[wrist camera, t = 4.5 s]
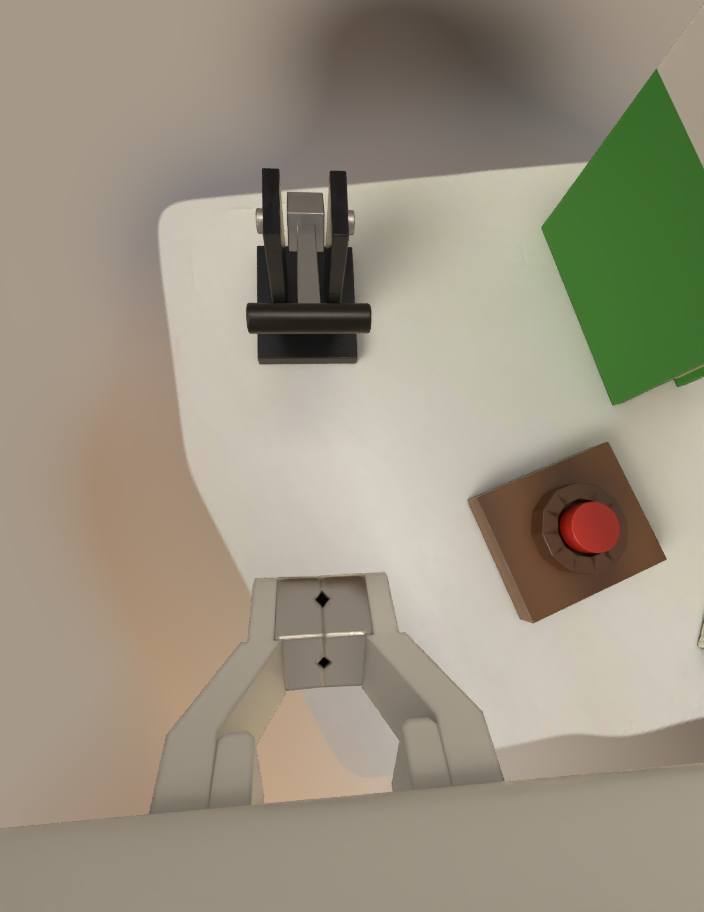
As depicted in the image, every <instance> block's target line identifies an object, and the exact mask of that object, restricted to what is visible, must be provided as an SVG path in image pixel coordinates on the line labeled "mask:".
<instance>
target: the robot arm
mask: <svg viewBox="0 0 704 912" xmlns="http://www.w3.org/2000/svg"><path fill="white" fill-rule="evenodd" d="M361 685H362V688H363V689H364V691H365V692H366V694H367V695H368V697H369V698H370V699H371V701H372V702H373V704H374V705H375V707H376V708H377V709H378V711H379V712H380V714H381V715H382V717H383V718H384V719H385V721H386V722H387V724H388V725H389V727H390V728H391V729H392V731H393V732H394V734H395V735H396V737H397V738H398V739H399V741H400V742H399V747H398V752H397V758H396V763H395V768H394V774H393V780H392V790H393V792H385V793H374V794H364V795H353V796H342V797H331V798H320V799H309V800H298V801H288V802H278V803H266V804H264V793H263V787H262V780H261V773H260V767H259V760H258V754H257V748H256V745H257V743H258V742H259V740H260V738H261V736H262V735H263V733H264V731H265V729H266V728H267V726H268V724H269V722H270V720H271V718H272V717H273V715H274V713H275V712H276V710H277V708H278V706H279V705H280V703H281V701H282V699H283V698H284V696H285V694H286V691H289V690H300V689H310V688H320V687H338V686H361ZM0 912H704V763H698V764H688V765H677V766H666V767H655V768H645V769H634V770H623V771H612V772H602V773H591V774H580V775H569V776H559V777H548V778H537V779H526V780H515V781H504V778H503V775H502V772H501V769H500V765H499V762H498V759H497V756H496V753H495V749H494V746H493V743H492V740H491V737H490V734H489V730H488V727H487V724H486V721H485V718H484V715H483V712H482V711H481V710H480V709H479V707H478V706H477V705H476V704H475V703H474V702H473V701H472V700H471V699H470V698H469V697H468V696H467V695H466V694H465V693H464V692H463V691H462V690H461V689H460V688H459V687H458V686H457V685H456V684H455V683H454V682H453V681H452V680H451V679H450V678H449V677H448V676H447V675H446V674H445V673H444V672H443V671H442V670H441V669H440V668H439V666H438V665H437V664H436V663H435V662H434V661H433V660H432V659H431V658H430V657H429V656H428V655H427V654H426V653H425V652H424V651H423V650H422V649H421V648H420V647H419V646H418V645H417V644H416V643H415V642H414V641H413V640H412V639H411V638H410V637H409V636H408V635H407V634H406V633H399V631H398V626H397V621H396V616H395V611H394V606H393V601H392V597H391V592H390V587H389V582H388V577H387V575H386V573H385V572H382V573H364V574H363V573H358V574H341V575H325V576H316V577H278V578H255V580H254V583H253V590H252V601H251V611H250V621H249V631H248V641H247V642H242V643H240V644H239V645H238V647H237V648H236V649H235V650H234V651H233V653H232V654H231V655H230V656H229V658H228V659H227V660H226V661H225V663H224V664H223V665H222V666H221V668H220V669H219V670H218V672H217V673H216V674H215V675H214V676H213V678H212V679H211V680H210V681H209V683H208V684H207V685H206V686H205V688H204V689H203V690H202V691H201V693H200V694H199V695H198V696H197V698H196V699H195V700H194V701H193V703H192V704H191V705H190V706H189V708H188V709H187V710H186V712H185V713H184V714H183V715H182V716H181V718H180V719H179V720H178V721H177V723H176V724H175V725H174V726H173V728H172V729H171V730H170V731H169V733H168V734H167V735H166V739H165V743H164V748H163V752H162V757H161V761H160V766H159V771H158V775H157V779H156V784H155V788H154V793H153V797H152V802H151V806H150V811H149V814H147V815H137V816H126V817H115V818H104V819H94V820H83V821H72V822H62V823H51V824H41V825H29V826H19V827H8V828H0Z"/></svg>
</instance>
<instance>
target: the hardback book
mask: <svg viewBox="0 0 704 912" xmlns="http://www.w3.org/2000/svg"><path fill="white" fill-rule="evenodd" d="M542 230H543V233H544V235H545V238H546V240H547V242H548V245H549V247H550V250H551V252H552V255H553V257H554V260H555V262H556V265H557V267H558V270H559V272H560V275H561V277H562V280H563V282H564V285H565V287H566V290H567V292H568V295H569V297H570V300H571V302H572V305H573V307H574V310H575V312H576V315H577V317H578V320H579V322H580V325H581V327H582V330H583V332H584V335H585V337H586V340H587V342H588V345H589V347H590V350H591V352H592V355H593V357H594V360H595V362H596V365H597V367H598V370H599V372H600V375H601V377H602V380H603V382H604V385H605V387H606V390H607V392H608V395H609V397H610V400H611V402H612V405H616V404H620V403H623V402H625V401H627V400H629V399H632V398H634V397H636V396H638V395H640V394H642V393H644V392H647V391H649V390H651V389H653V388H655V387H657V386H659V385H662V384H664V383H666V382H668V381H670V380H672V379H674V380H675V382H676V384H677V387H679V386H682V385H686V384H688V383H691V382H693V381H695V380H698V379H700V378H702V377H704V4H703V5H702V6H701V8H700V9H699V10H698V12H697V13H696V15H695V16H694V17H693V19H692V20H691V22H690V23H689V25H688V26H687V27H686V28H685V30H684V32H683V33H682V34H681V35H680V37H679V38H678V40H677V41H676V42H675V44H674V45H673V46H672V48H671V49H670V51H669V52H668V53H667V55H666V56H665V58H664V59H663V60H662V62H661V63H660V65H659V66H658V68H657V69H656V70H655V71H654V73H653V74H652V75H651V77H650V78H649V80H648V81H647V82H646V84H645V85H644V87H643V88H642V89H641V91H640V92H639V93H638V95H637V96H636V98H635V99H634V100H633V102H632V103H631V104H630V106H629V107H628V109H627V110H626V112H625V113H624V114H623V116H622V117H621V119H620V120H619V121H618V122H617V124H616V125H615V127H614V128H613V130H612V131H611V132H610V134H609V135H608V136H607V138H606V139H605V141H604V142H603V143H602V145H601V146H600V148H599V149H598V150H597V152H596V153H595V155H594V156H593V157H592V158H591V160H590V161H589V163H588V164H587V165H586V167H585V168H584V169H583V171H582V172H581V174H580V175H579V176H578V178H577V179H576V181H575V182H574V183H573V185H572V186H571V187H570V189H569V190H568V192H567V193H566V194H565V196H564V197H563V199H562V200H561V201H560V203H559V204H558V205H557V207H556V208H555V210H554V211H553V212H552V214H551V215H550V216H549V218H548V219H547V221H546V222H545V223H544V225H543V226H542Z"/></svg>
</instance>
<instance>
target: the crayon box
mask: <svg viewBox="0 0 704 912" xmlns="http://www.w3.org/2000/svg"><path fill="white" fill-rule="evenodd" d="M698 646H699V647H700V648H702V649H704V623H703V627H702V631H701V637H700V639H699V642H698Z"/></svg>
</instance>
